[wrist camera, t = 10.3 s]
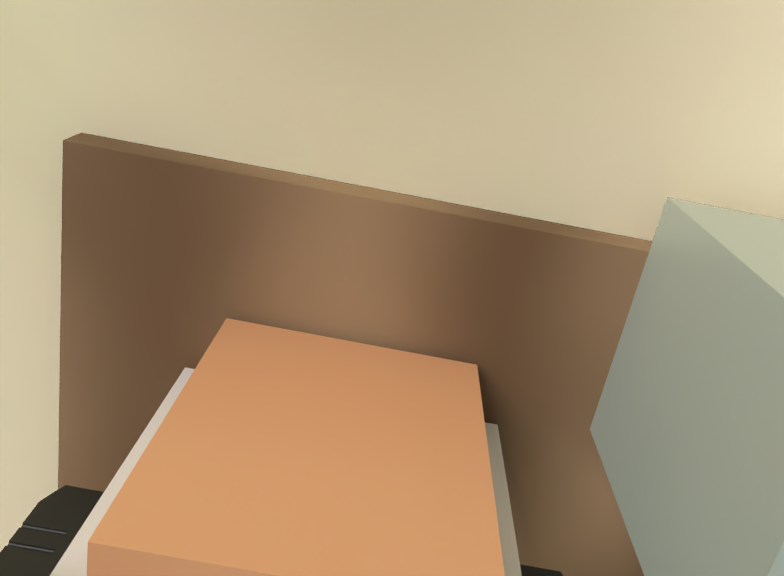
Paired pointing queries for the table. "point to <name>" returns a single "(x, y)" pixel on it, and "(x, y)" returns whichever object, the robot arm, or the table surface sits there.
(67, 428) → the stand
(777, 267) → the pale blue-grey block
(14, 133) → the table surface
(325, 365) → the orange block
